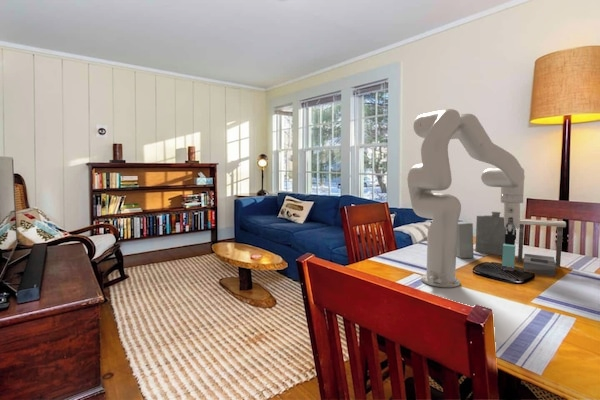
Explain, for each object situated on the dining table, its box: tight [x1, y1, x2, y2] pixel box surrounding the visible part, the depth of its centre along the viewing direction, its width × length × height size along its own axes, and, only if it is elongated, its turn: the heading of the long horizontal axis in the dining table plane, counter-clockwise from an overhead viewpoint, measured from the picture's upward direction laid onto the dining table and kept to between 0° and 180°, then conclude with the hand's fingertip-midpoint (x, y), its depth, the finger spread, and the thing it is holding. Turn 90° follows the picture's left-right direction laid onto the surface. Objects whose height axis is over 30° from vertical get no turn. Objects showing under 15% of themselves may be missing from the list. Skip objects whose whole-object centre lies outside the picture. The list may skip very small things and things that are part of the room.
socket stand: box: [517, 218, 567, 278], centre depth 135 cm, size 18×16×18 cm
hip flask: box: [474, 211, 506, 256], centre depth 159 cm, size 16×4×20 cm, turn 60°
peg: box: [501, 244, 516, 269], centre depth 134 cm, size 4×4×10 cm
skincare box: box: [456, 220, 475, 259], centre depth 155 cm, size 8×7×16 cm
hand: (510, 241), depth 134 cm, fingers open, 9 cm apart
